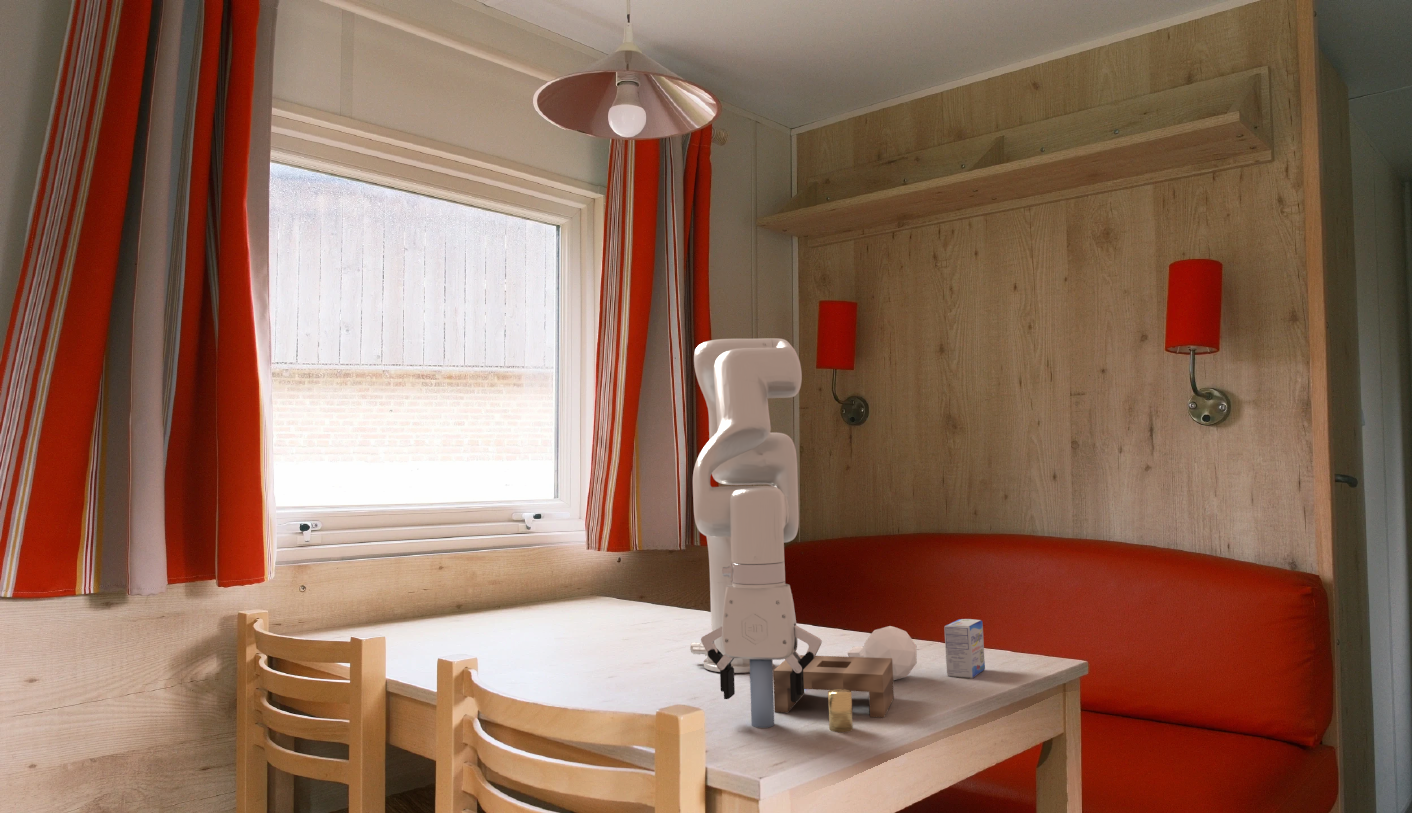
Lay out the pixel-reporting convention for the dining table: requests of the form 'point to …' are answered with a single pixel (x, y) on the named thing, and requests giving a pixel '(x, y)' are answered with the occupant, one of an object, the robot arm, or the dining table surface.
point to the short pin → (840, 710)
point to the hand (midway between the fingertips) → (762, 698)
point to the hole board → (840, 680)
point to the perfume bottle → (890, 649)
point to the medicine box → (964, 648)
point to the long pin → (761, 693)
